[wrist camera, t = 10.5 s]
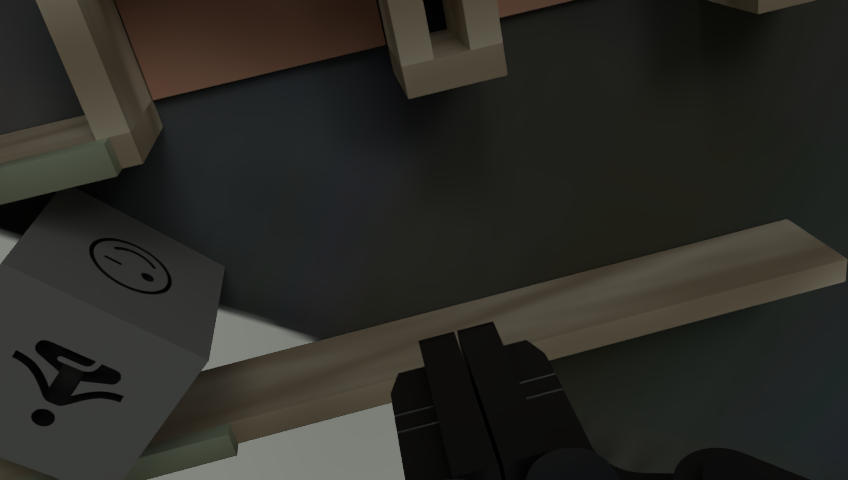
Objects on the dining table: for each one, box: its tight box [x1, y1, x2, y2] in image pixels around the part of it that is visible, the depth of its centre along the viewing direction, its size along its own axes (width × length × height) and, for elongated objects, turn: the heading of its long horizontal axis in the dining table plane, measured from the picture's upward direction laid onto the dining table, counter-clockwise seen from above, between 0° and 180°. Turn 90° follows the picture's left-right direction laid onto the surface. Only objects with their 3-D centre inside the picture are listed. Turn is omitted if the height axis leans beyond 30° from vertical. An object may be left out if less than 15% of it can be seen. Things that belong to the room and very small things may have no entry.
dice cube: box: [0, 187, 225, 480], centre depth 20 cm, size 5×5×5 cm
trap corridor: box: [0, 0, 847, 480], centre depth 19 cm, size 15×27×4 cm, turn 102°
